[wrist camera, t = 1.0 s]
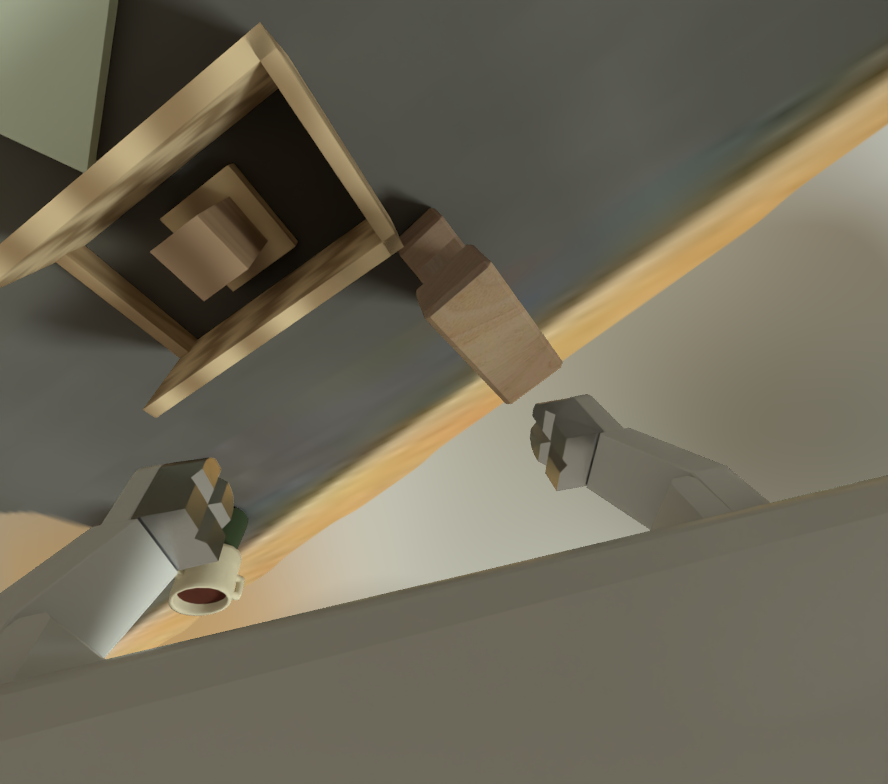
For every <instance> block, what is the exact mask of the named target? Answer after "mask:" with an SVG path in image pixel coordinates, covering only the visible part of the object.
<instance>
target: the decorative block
mask: <svg viewBox="0 0 888 784" xmlns="http://www.w3.org/2000/svg"><path fill="white" fill-rule="evenodd" d="M400 240H401V242H402V244H403V246H404V247H403V248H402V249H400V250H399V251H398V252H399V255H400V257H401V258H402V259H403V260H404V261H405V262H406V264H407V265H408V266H409V267H410V268H411V270H412V271H413V272H414V273H415V274H416V276H417V277H418V278H419V279H420V281H421V282H422V283H423V284H422V285H421V286H420V287H419V288H418V289H417V290H416V297H417V300H418V302H419V305H420V307H421V310H422V312H423V315H424V317H425V319H426V320H427V321H428V322H429V323H430V324H431V325H432V326H433V327H434V329H435V330H436V331H437V332H438V333H439V334H440V335H441V336H442V337H443V338H444V339H445V340H446V341H447V342H448V343H449V344H450V345H451V346H452V348H453V349H454V350H455V351H456V352H457V353H458V354H459V355H460V356H461V357H462V358H463V359H464V360H465V361H466V362H467V363H468V364H469V365H470V367H471V368H472V369H473V370H474V371H475V372H476V373H477V374H478V375H479V376H480V377H481V378H482V379H483V380H484V381H485V382H486V383H487V384H488V385H489V386H490V388H491V389H492V390H493V391H494V392H495V393H496V394H497V395H498V396H499V397H500V398H501V399H502V400H503V401H504V402H505V403H506V404H512V403H513V402H515V401H516V400H517V399H519V398H520V397H521V396H523V395H524V394H525V393H527V392H528V391H529V390H531V389H532V388H534V387H535V386H536V385H538V384H539V383H540V382H542V381H543V380H544V379H546V378H547V377H549V376H550V375H551V374H552V373H554V372H555V371H557V370H558V369H559V368H561V365H562V360H561V359H560V357H559V356H558V355H557V353H556V352H555V350H554V349H553V348H552V346H551V345H550V343H549V342H548V341H547V339H546V338H545V336H544V335H543V334H542V332H541V331H540V329H539V328H538V327H537V325H536V324H535V322H534V321H533V320H532V318H531V317H530V316H529V314H528V313H527V311H526V310H525V309H524V307H523V306H522V304H521V303H520V302H519V300H518V299H517V297H516V296H515V295H514V293H513V292H512V290H511V289H510V288H509V286H508V285H507V283H506V282H505V281H504V279H503V278H502V277H501V275H500V274H499V272H498V271H497V270H496V268H495V267H494V265H493V264H492V263H491V261H490V260H489V259H487V258H486V257H485V256H484V255H483V254H482V253H481V252H480V251H479V250H478V249H477V248H476V247H475V246H474V245H466V246H465V245H464V243H463V242H462V241H461V240H460V238H459V237H458V236H457V235H456V233H455V232H454V231H453V229H452V228H451V227H450V225H449V224H448V223H447V221H446V220H445V219H444V217H443V216H442V215H441V214H440V213H439V212H438V211H436V210H435V209H433V208H429V209H428V210H427V211H426V212H425V213H424V214H423V215H422V216H421V217H420V218H419V219H418V220H417V221H416V222H415V223H414V224H412V225H411V226H410V227H409V228H408V229H407V230H406V231H405V232H404V233H403V234H402V235H401V236H400Z"/></svg>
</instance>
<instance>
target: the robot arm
mask: <svg viewBox="0 0 888 784" xmlns="http://www.w3.org/2000/svg"><path fill="white" fill-rule="evenodd" d="M533 417H534V419H535V420H536V423H535V424H534V426H533V427H532V428H531V434H530V440H531V446H532V450H533V452H534V455H535V457H536V458H537V460H538V461H539V462H541V463H543V464H544V465H546V474H547V476H548V478H549V479H550V481H551V483H552V484H553V486H554V488H555V489H556V491H560V490H566V489H571V488H577V487H583V486H587V488H588V489H590V490H591V491H593V492H594V493H596V494H597V495H599V496H600V497H602V498H604V499H605V500H606V501H608V502H610V503H611V504H612V505H614V506H615V507H617V508H618V509H620V510H622V511H623V512H625V513H626V514H627V515H629V516H630V517H632V518H634V519H635V520H637V521H638V522H640V523H641V524H643V525H644V526H646V527H647V528H649V529H650V531H648V532H644V533H640V534H635V535H631V536H627V537H623V538H619V539H614V540H610V541H606V542H602V543H597V544H593V545H589V546H585V547H580V548H576V549H572V550H567V551H563V552H559V553H555V554H551V555H546V556H542V557H538V558H534V559H530V560H526V561H521V562H517V563H513V564H509V565H504V566H500V567H496V568H492V569H488V570H483V571H479V572H475V573H471V574H467V575H463V576H458V577H454V578H450V579H445V580H441V581H437V582H433V583H428V584H424V585H420V586H415V587H411V588H407V589H403V590H398V591H395V592H390V593H386V594H381V595H377V596H373V597H369V598H365V599H360V600H356V601H352V602H348V603H343V604H339V605H335V606H331V607H326V608H322V609H318V610H314V611H310V612H306V613H301V614H297V615H292V616H288V617H284V618H280V619H276V620H271V621H268V622H263V623H259V624H254V625H250V626H246V627H242V628H237V629H233V630H229V631H225V632H220V633H216V634H212V635H208V636H203V637H200V638H195V639H191V640H187V641H182V642H178V643H174V644H170V645H166V646H161V647H157V648H153V649H148V650H144V651H140V652H136V653H131V654H127V655H123V656H119V657H114V658H110V659H104V658H105V657H106V656H107V654H108V653H109V652H110V651H111V650H112V649H113V648H114V646H115V645H116V644H117V643H118V642H119V641H120V639H121V638H122V637H123V636H124V635H125V634H126V632H127V631H128V630H129V629H130V628H131V627H132V626H133V624H134V623H135V622H136V621H137V620H138V619H139V617H140V616H141V615H142V614H143V613H144V612H145V610H146V609H147V608H148V607H149V606H150V605H151V603H152V602H153V601H154V600H155V599H156V598H157V597H158V595H159V594H160V593H161V592H162V591H163V590H164V588H165V587H166V586H167V585H168V584H169V583H170V581H171V580H172V579H173V578H174V577H175V576H176V574H177V573H178V572H177V571H179V570H183V569H187V568H192V567H196V566H200V565H204V564H209V563H213V562H217V561H219V557H220V554H221V551H222V548H223V544H224V541H225V538H226V535H225V533H224V532H223V530H222V528H223V527H224V526H225V525H226V524H227V523H228V522H229V521H230V520H231V517H232V514H233V508H234V498H233V494H232V490H231V487H230V485H229V483H228V482H227V481H225V480H223V479H221V478H219V474H220V471H221V468H220V466H219V464H218V462H217V461H216V459H214V458H211V457H209V458H202V459H195V460H188V461H181V462H174V463H167V464H164V465H156V466H149V467H143V468H140V469H139V470H137V471H135V473H134V474H133V476H132V477H131V479H130V480H129V482H128V483H127V485H126V487H125V488H124V490H123V491H122V493H121V494H120V496H119V497H118V499H117V501H116V502H115V504H114V505H113V507H112V508H111V510H110V512H109V513H108V515H107V516H106V518H105V519H104V521H103V522H102V524H101V525H99V526H94V527H92V528H90V529H89V530H87V531H86V532H85V533H83V534H82V535H80V536H79V537H78V538H76V539H75V540H73V541H72V542H71V543H70V544H68V545H67V546H65V547H64V548H62V549H61V550H60V551H58V552H57V553H55V554H54V555H53V556H51V557H50V558H49V559H47V560H46V561H44V562H43V563H42V564H40V565H39V566H37V567H36V568H35V569H33V570H32V571H30V572H29V573H28V574H26V575H25V576H24V577H22V578H21V579H19V580H18V581H17V582H15V583H14V584H13V585H11V586H10V587H8V588H7V589H5V590H4V591H3V592H1V593H0V784H888V475H885V476H881V477H877V478H872V479H868V480H864V481H860V482H855V483H852V484H847V485H843V486H839V487H835V488H830V489H826V490H822V491H818V492H814V493H810V494H805V495H801V496H797V497H792V498H788V499H784V500H780V501H776V502H772V503H770V502H769V501H768V500H766V499H765V498H764V497H763V496H761V494H759V493H758V492H757V491H756V490H754V489H753V488H752V487H751V486H750V485H749V484H747V483H746V482H745V481H744V480H743V479H741V478H740V477H739V476H738V475H737V474H736V473H734V472H733V471H732V470H731V469H730V468H728V467H727V466H725V465H723V464H720V463H718V462H715V461H713V460H710V459H707V458H705V457H702V456H700V455H697V454H694V453H692V452H690V451H687V450H685V449H682V448H679V447H677V446H674V445H672V444H669V443H667V442H664V441H662V440H659V439H656V438H654V437H651V436H649V435H646V434H644V433H641V432H638V431H636V430H633V429H631V428H626V429H624V428H623V427H622V426H621V425H620V424H619V423H618V422H617V421H616V420H615V419H614V418H613V417H612V416H611V415H610V414H609V413H608V412H607V411H606V410H605V409H604V408H603V407H602V406H601V405H600V404H599V403H598V402H597V401H596V400H595V399H594V398H593V397H592V396H590V395H588V394H585V395H580V396H575V397H570V398H567V399H561V400H555V401H549V402H543V403H537V404H535V406H534V409H533Z"/></svg>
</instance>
